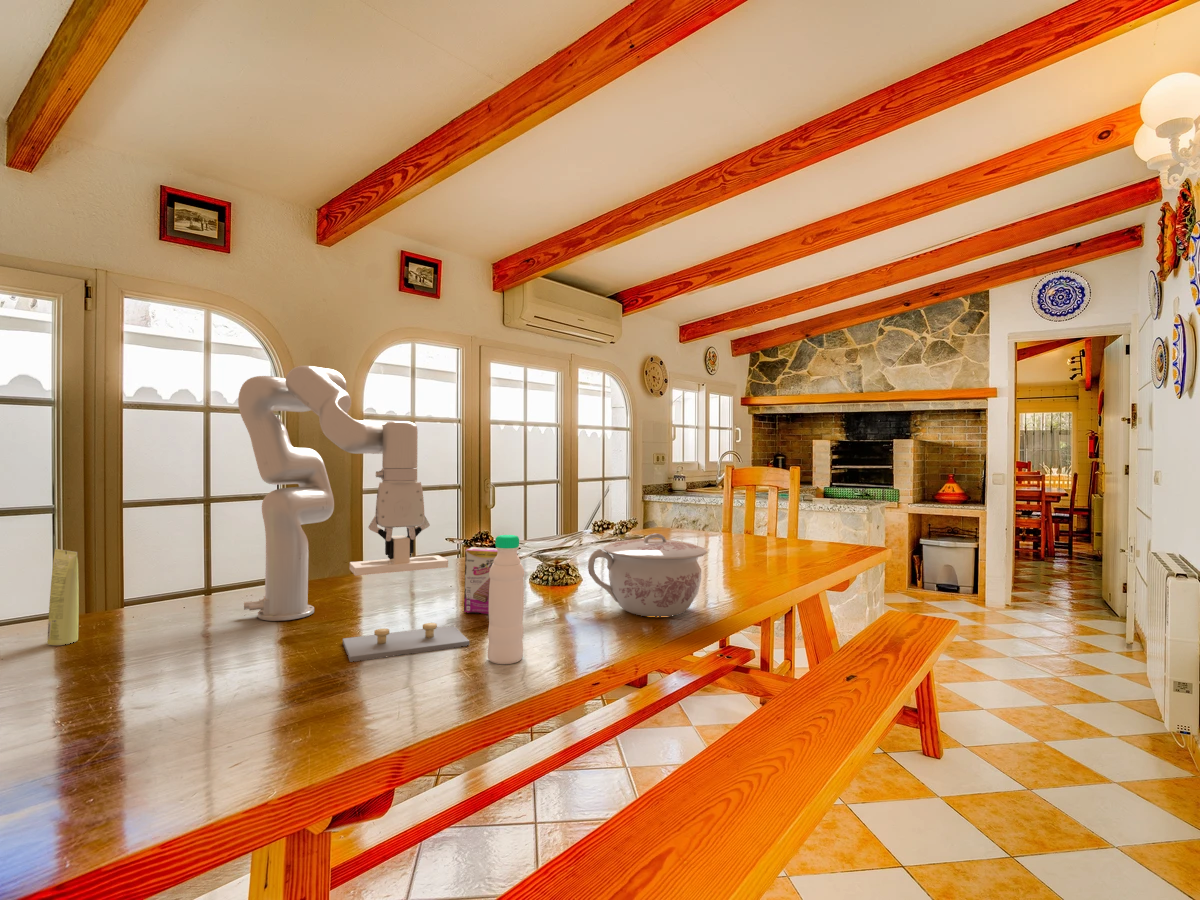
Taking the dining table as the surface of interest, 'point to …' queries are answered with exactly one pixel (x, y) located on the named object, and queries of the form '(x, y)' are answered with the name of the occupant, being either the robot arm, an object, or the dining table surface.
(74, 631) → the tube
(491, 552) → the candy bar box
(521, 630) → the water bottle
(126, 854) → the dining table surface
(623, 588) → the chamber pot
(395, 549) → the pink tray with post
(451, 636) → the board
